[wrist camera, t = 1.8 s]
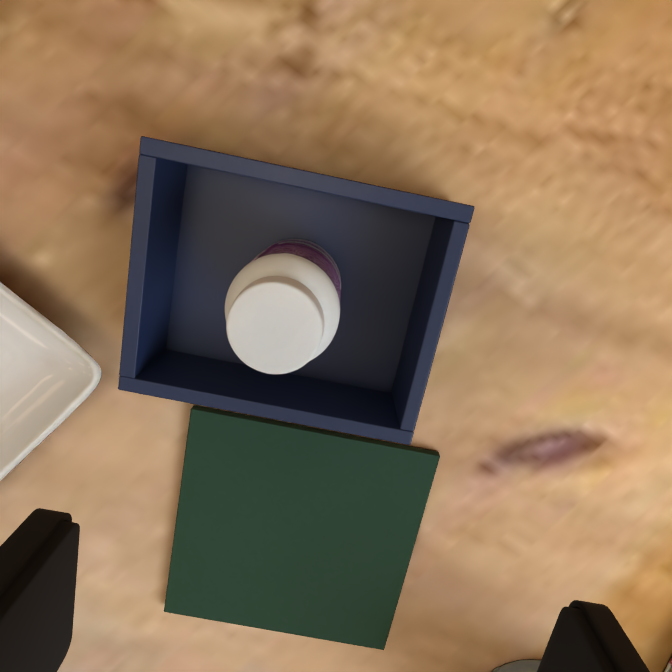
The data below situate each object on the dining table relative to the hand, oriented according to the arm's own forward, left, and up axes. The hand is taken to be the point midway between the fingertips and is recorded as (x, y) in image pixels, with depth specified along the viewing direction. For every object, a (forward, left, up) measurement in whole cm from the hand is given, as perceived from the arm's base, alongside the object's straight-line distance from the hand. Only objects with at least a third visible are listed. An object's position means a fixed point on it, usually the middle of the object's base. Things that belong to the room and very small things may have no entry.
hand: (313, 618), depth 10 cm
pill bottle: (-2, -3, -22) cm, 22 cm away
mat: (+15, 0, -22) cm, 27 cm away
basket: (-2, -3, -22) cm, 23 cm away
